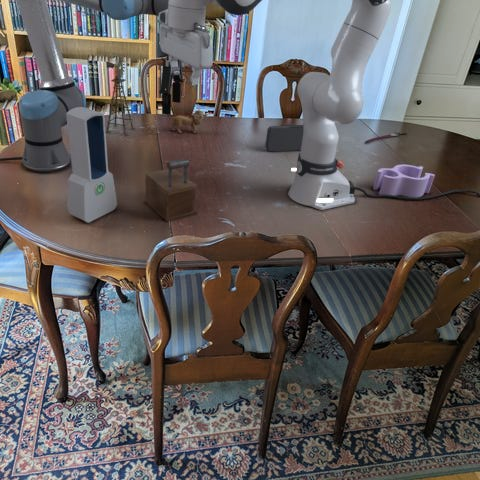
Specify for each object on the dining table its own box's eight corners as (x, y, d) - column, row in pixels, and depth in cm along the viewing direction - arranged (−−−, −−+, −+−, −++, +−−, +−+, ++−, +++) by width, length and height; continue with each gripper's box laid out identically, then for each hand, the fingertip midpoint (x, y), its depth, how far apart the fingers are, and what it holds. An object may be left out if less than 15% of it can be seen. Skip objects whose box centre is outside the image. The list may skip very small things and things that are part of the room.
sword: (403, 131, 224) (404, 129, 223) (408, 133, 222) (409, 131, 221) (360, 143, 208) (360, 140, 207) (365, 145, 206) (366, 142, 205)
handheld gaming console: (315, 147, 196) (319, 124, 190) (317, 149, 194) (322, 126, 188) (264, 149, 189) (267, 125, 183) (266, 152, 187) (269, 127, 181)
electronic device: (85, 224, 129) (74, 119, 113) (67, 215, 132) (53, 112, 116) (118, 208, 139) (112, 108, 122) (99, 200, 142) (92, 102, 125)
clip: (386, 199, 160) (391, 181, 156) (367, 183, 170) (371, 166, 166) (433, 195, 166) (439, 178, 163) (412, 180, 176) (417, 163, 172)
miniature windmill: (125, 135, 188) (121, 57, 171) (105, 132, 189) (100, 54, 172) (134, 128, 195) (131, 52, 179) (115, 125, 196) (110, 49, 180)
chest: (194, 213, 141) (195, 187, 136) (166, 221, 135) (166, 194, 131) (173, 195, 149) (173, 171, 144) (146, 202, 144) (145, 177, 139)
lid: (196, 188, 136) (197, 160, 131) (167, 195, 130) (167, 167, 126) (173, 171, 144) (173, 144, 139) (145, 176, 139) (145, 149, 134)
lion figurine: (200, 128, 202) (201, 108, 197) (204, 133, 198) (205, 112, 193) (167, 129, 197) (167, 108, 192) (170, 134, 193) (170, 113, 188)
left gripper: (175, 48, 132) (173, 121, 143) (193, 34, 153) (190, 99, 164) (149, 45, 132) (149, 118, 143) (170, 31, 153) (169, 96, 164)
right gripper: (221, 28, 106) (217, 89, 114) (177, 12, 120) (175, 68, 127) (197, 28, 103) (194, 91, 110) (155, 12, 116) (155, 69, 124)
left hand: (171, 108), depth 154 cm, fingers open, 13 cm apart
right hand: (184, 79), depth 119 cm, fingers open, 8 cm apart
